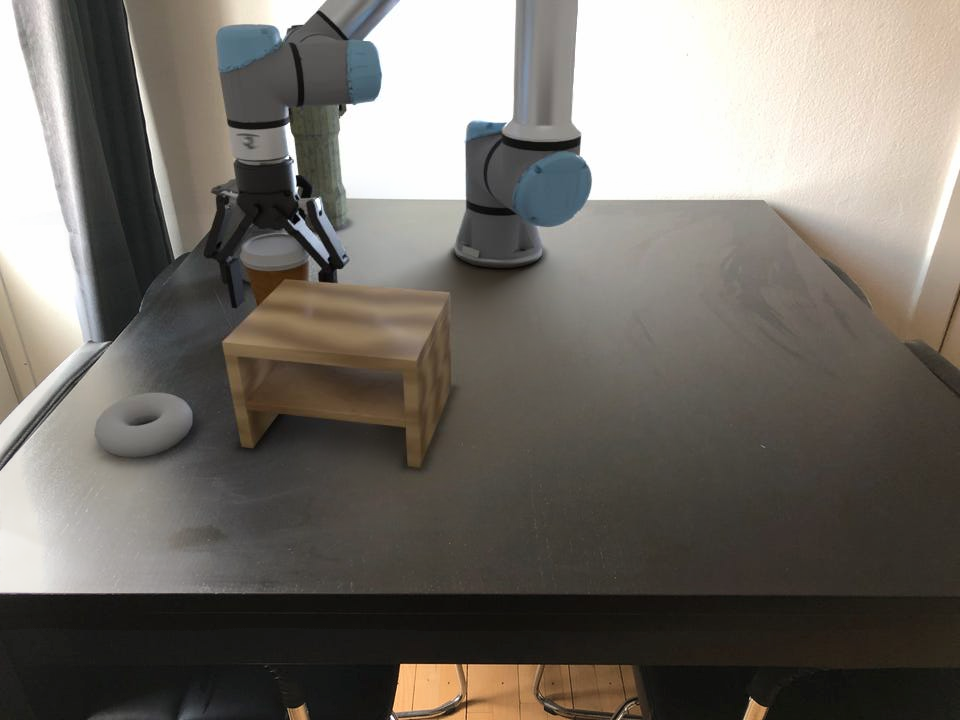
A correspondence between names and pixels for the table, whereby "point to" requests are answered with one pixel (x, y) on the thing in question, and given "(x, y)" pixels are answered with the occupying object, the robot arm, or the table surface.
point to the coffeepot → (254, 232)
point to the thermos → (320, 156)
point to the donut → (131, 440)
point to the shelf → (343, 359)
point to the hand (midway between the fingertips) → (283, 308)
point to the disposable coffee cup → (273, 262)
